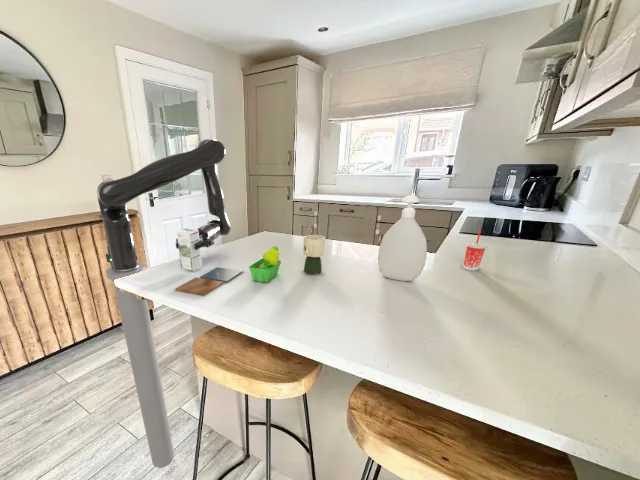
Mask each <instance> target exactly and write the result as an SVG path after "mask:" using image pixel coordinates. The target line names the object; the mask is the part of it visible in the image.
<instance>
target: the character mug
mask: <svg viewBox="0 0 640 480" xmlns="http://www.w3.org/2000/svg"><path fill="white" fill-rule="evenodd" d="M325 243H326V237H325V236H324V235H319V234H308V235H304V236H303V255H304V256H305V261H304V265H303V272H304V273H305V274H311V275H313V274H321V273H322V271H323V270H322V269H323V268H322V258H321V257H323V256H324V254H325Z"/></svg>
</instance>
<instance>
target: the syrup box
mask: <svg viewBox="0 0 640 480" xmlns="http://www.w3.org/2000/svg"><path fill="white" fill-rule="evenodd" d="M197 229H198V228H196V229H195V228H187V227H186V228H181V229H179V230H177V231H176V237H177V238H178V246H179V249H178V253H179V261H180V268H181V270H184V271H189V272H195V271H197V270H199V269H201V268H202V267H203V262H202V256H201V255H202V254H201V248H199V249H198V250H195V246H194V245H195V243H197V242H198V241H199V231H198V230H197ZM177 238H176V239H177Z"/></svg>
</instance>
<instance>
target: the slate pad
mask: <svg viewBox="0 0 640 480" xmlns="http://www.w3.org/2000/svg"><path fill="white" fill-rule="evenodd" d="M241 274H243V271H242V270H237V269H232V268H222V267H215V268H213V269H212V270H210V271H208V272H206V273H205V274H202V275H201V276H200V277H199V278H203V279H209V280H215V281H221V282H223V283H225V284H226V283H227V284H228V283H229V282H231V281H232V280H234V279H235V278H237V277H238V276H240V275H241Z"/></svg>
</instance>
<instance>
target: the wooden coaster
mask: <svg viewBox="0 0 640 480" xmlns="http://www.w3.org/2000/svg"><path fill="white" fill-rule="evenodd" d="M223 284H224V282H221V281H215V280H209V279H203V278H200V277H197V276H196V277H193V278H192V279H190V280H189V281H187V282H185V283H183V284H181V285H179V286H178V287H175V291H178V292H183V293H187V294H188V293H189V294H194V295H199V296H206V295H207V294H209V293H211V292H212V291H214V290H215V289H217V288H218V287H220V286H221V285H223Z"/></svg>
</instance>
